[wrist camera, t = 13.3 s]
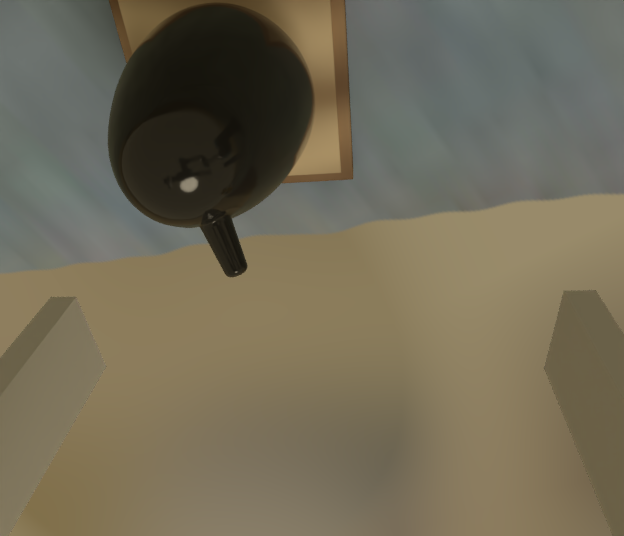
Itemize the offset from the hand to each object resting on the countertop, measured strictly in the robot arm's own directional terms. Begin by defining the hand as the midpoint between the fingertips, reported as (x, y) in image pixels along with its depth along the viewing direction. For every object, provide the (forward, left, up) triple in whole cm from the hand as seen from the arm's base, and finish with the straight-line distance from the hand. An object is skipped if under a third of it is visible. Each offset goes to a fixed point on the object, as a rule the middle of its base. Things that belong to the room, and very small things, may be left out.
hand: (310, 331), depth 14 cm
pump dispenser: (-1, -6, -22) cm, 23 cm away
